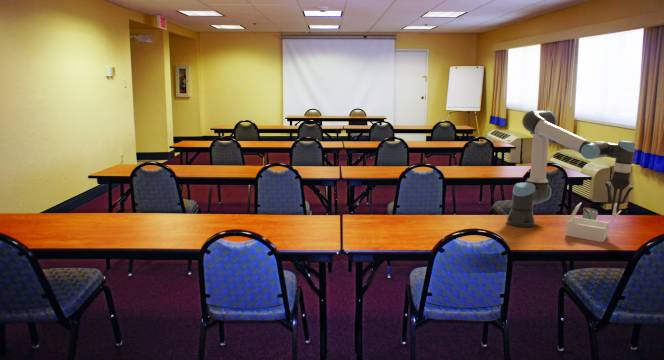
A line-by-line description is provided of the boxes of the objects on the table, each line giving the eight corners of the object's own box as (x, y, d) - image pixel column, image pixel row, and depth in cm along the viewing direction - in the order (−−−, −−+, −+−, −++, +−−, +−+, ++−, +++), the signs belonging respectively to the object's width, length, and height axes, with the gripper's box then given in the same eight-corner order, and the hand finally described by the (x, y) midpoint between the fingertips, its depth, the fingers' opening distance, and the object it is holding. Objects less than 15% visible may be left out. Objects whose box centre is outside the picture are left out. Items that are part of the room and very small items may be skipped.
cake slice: (599, 230, 285) (601, 213, 283) (587, 229, 286) (589, 212, 284) (592, 224, 296) (594, 208, 294) (581, 223, 298) (583, 207, 296)
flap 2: (616, 214, 258) (617, 215, 258) (620, 209, 268) (621, 210, 268) (604, 226, 263) (605, 227, 262) (608, 221, 272) (609, 222, 272)
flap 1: (581, 202, 279) (581, 202, 279) (576, 207, 269) (575, 206, 269) (574, 216, 282) (573, 215, 283) (568, 221, 273) (568, 220, 273)
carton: (565, 235, 273) (567, 222, 272) (571, 229, 285) (573, 216, 284) (602, 242, 263) (604, 228, 261) (607, 236, 275) (609, 222, 273)
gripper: (606, 170, 260) (598, 214, 265) (635, 174, 253) (626, 220, 258) (609, 168, 266) (601, 211, 271) (637, 172, 259) (628, 217, 264)
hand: (613, 215), depth 265 cm, fingers closed
